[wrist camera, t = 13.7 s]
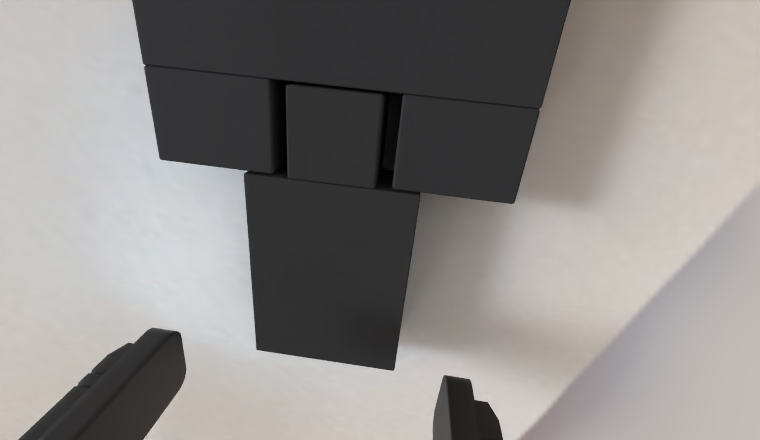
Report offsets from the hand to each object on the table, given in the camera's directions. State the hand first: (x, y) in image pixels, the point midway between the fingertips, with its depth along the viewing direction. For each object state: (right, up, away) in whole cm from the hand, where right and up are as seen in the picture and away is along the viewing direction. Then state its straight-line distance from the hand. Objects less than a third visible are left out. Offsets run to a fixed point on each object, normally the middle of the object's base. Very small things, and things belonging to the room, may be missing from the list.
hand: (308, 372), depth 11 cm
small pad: (+1, +5, +4) cm, 6 cm away
